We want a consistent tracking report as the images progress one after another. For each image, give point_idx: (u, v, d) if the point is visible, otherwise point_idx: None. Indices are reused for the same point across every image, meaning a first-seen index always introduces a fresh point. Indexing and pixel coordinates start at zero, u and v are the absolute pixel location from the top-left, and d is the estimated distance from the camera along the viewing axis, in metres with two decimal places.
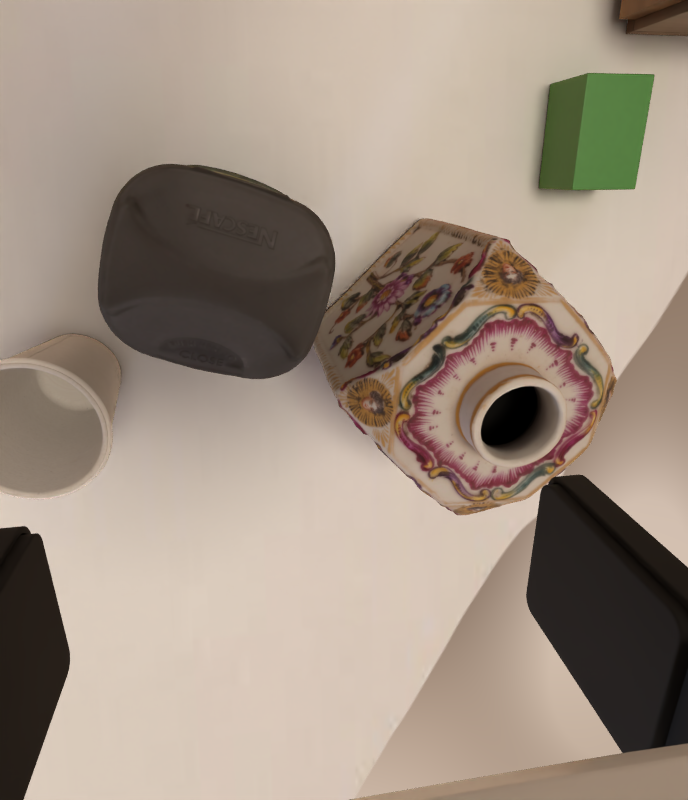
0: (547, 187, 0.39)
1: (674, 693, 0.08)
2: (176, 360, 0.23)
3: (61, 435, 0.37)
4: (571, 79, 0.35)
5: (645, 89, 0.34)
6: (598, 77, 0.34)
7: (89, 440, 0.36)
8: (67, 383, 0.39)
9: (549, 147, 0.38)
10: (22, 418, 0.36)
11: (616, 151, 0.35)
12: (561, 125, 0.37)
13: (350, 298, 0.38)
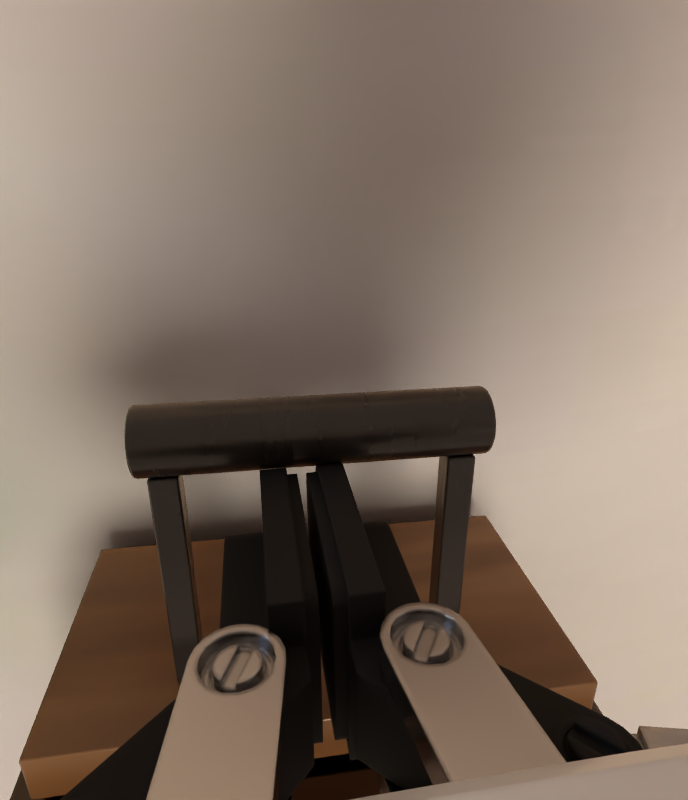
0: None
1: (342, 664, 0.08)
2: None
3: None
4: None
5: None
6: None
7: None
8: None
9: None
10: None
11: None
12: None
13: None
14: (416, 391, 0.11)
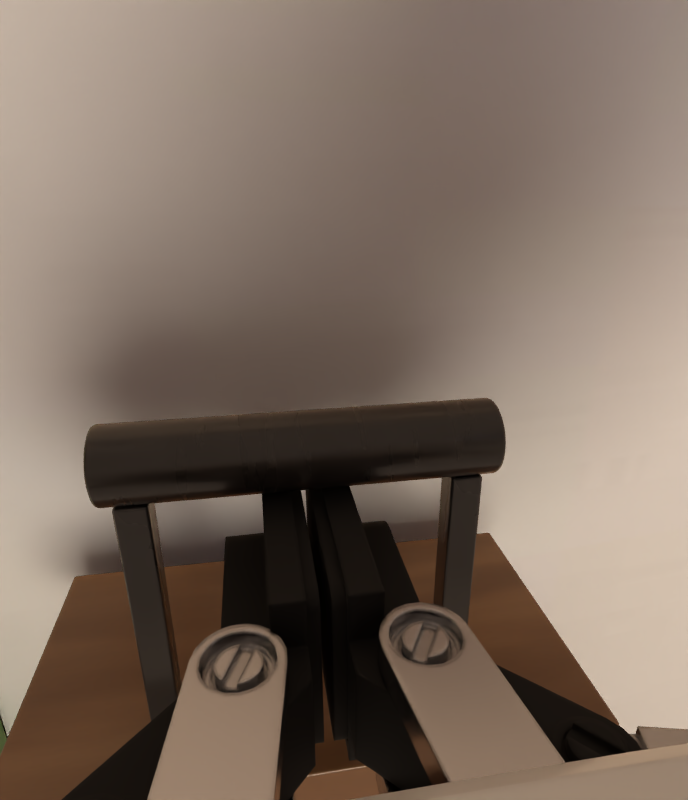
0: None
1: (341, 664, 0.08)
2: None
3: None
4: None
5: None
6: None
7: None
8: None
9: None
10: None
11: None
12: None
13: None
14: (415, 404, 0.10)
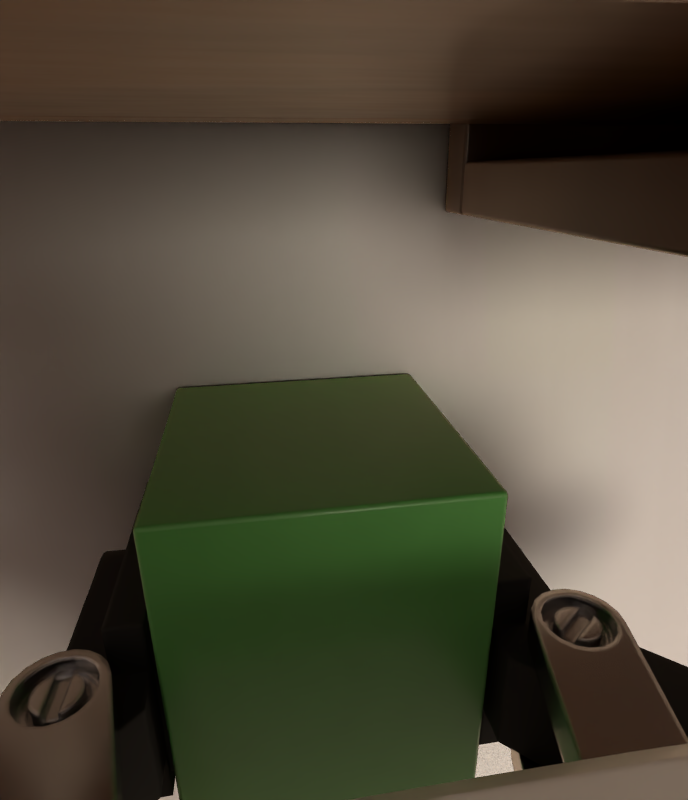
0: None
1: None
2: None
3: None
4: (155, 461, 0.08)
5: (468, 552, 0.07)
6: (201, 538, 0.06)
7: None
8: None
9: None
10: None
11: (366, 758, 0.08)
12: None
13: None
14: None
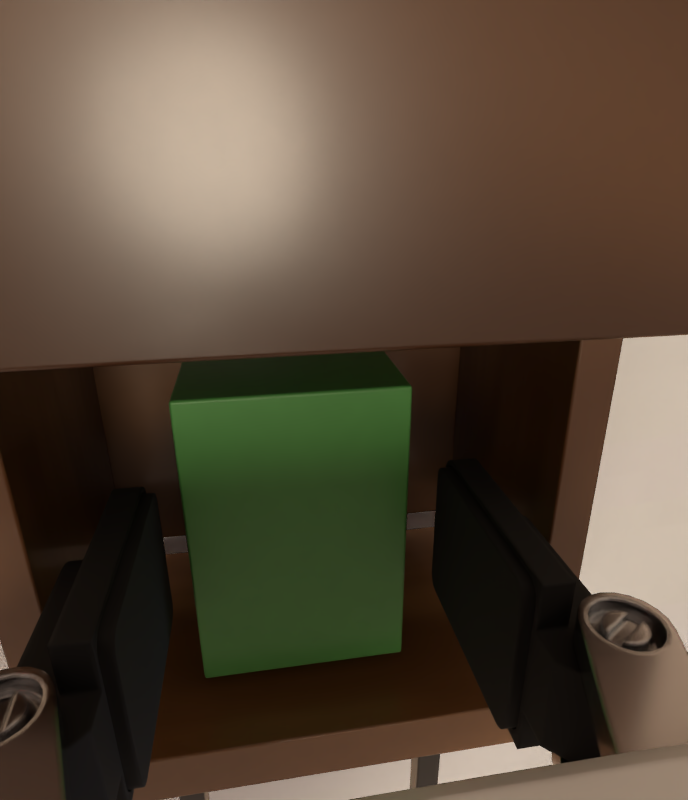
0: None
1: (522, 654, 0.08)
2: None
3: None
4: None
5: (387, 427, 0.11)
6: (212, 410, 0.10)
7: None
8: None
9: None
10: None
11: (324, 581, 0.12)
12: None
13: None
14: None
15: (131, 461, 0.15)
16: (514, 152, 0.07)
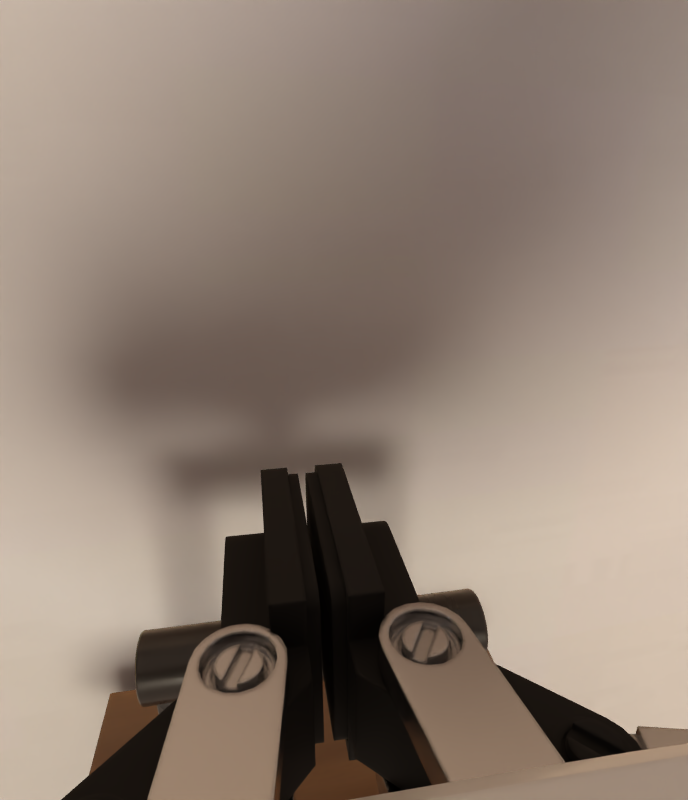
0: None
1: (341, 664, 0.08)
2: None
3: None
4: None
5: None
6: None
7: None
8: None
9: None
10: None
11: None
12: None
13: None
14: None
15: None
16: None
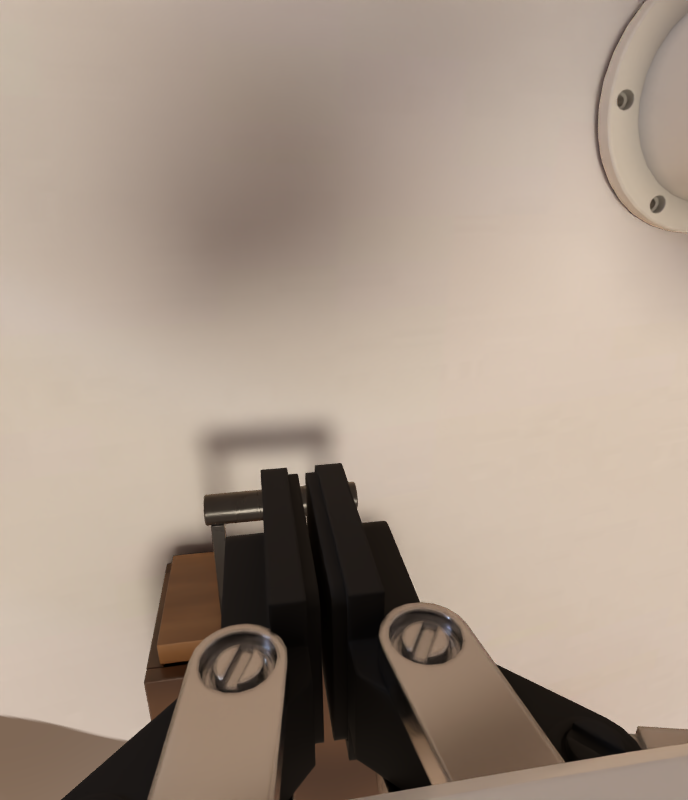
0: None
1: (341, 664, 0.08)
2: None
3: None
4: None
5: None
6: None
7: None
8: None
9: None
10: None
11: None
12: None
13: None
14: None
15: None
16: None
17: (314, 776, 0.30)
